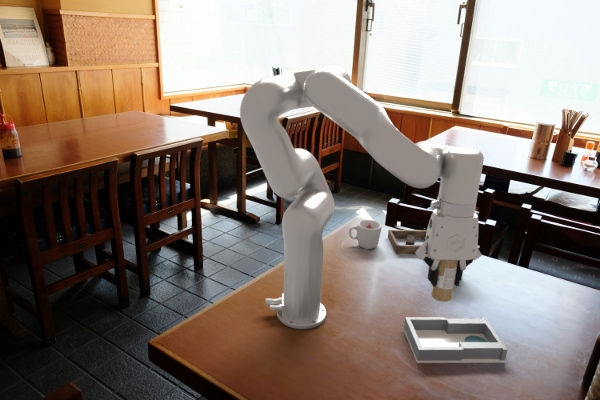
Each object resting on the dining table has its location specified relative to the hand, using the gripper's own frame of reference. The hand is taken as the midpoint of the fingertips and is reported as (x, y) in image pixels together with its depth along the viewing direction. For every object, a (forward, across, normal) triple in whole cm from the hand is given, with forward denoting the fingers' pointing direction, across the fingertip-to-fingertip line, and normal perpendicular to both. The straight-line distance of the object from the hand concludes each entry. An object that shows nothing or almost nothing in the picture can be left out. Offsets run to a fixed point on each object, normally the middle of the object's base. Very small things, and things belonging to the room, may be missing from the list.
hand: (443, 282), depth 102 cm
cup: (+17, -8, +52) cm, 55 cm away
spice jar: (+4, 0, 0) cm, 4 cm away
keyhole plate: (+17, +4, 0) cm, 18 cm away
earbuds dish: (+17, +9, +52) cm, 56 cm away
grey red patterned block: (+17, +8, +50) cm, 54 cm away
